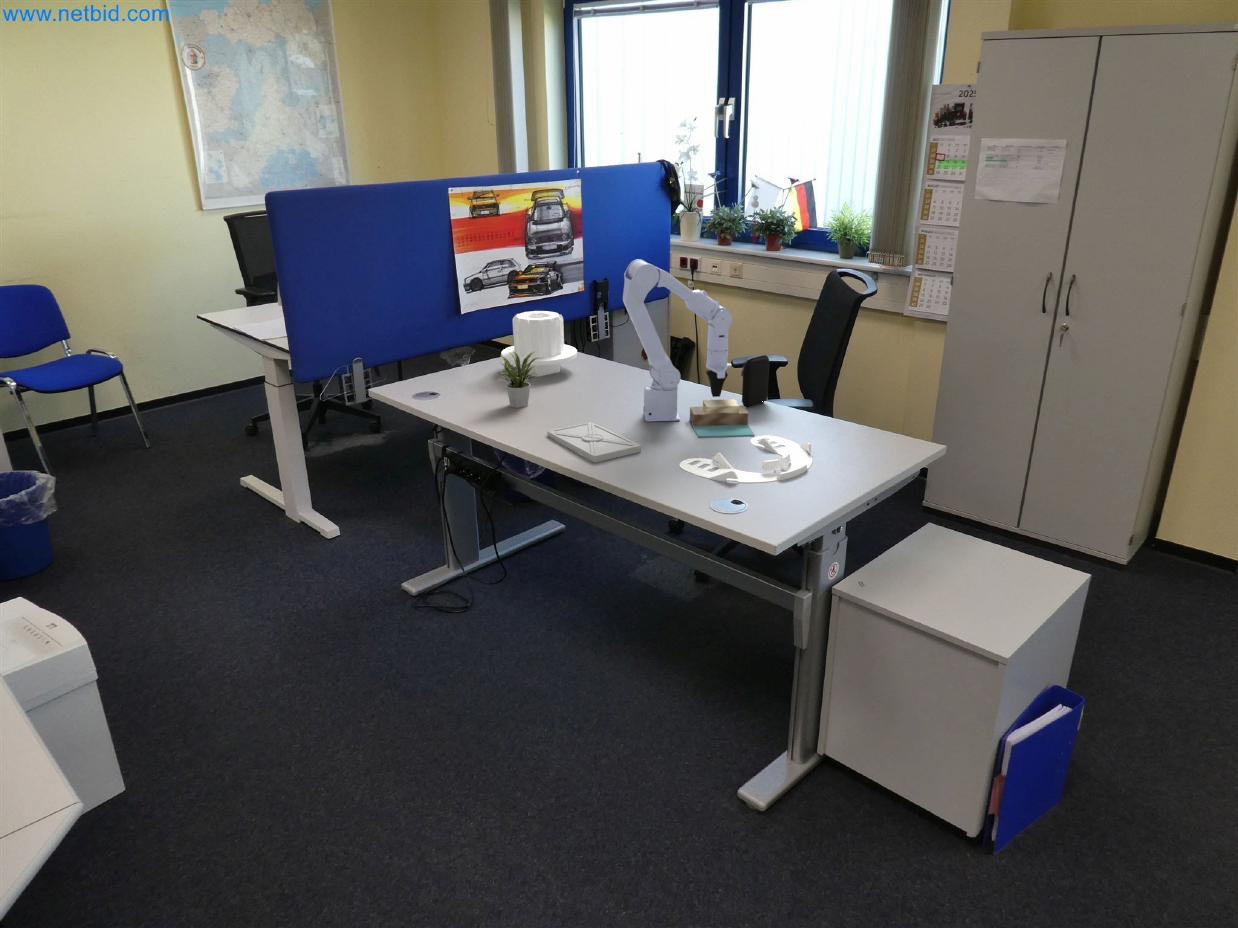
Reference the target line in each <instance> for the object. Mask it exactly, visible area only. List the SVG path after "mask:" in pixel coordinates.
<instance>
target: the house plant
mask: <svg viewBox="0 0 1238 928" xmlns="http://www.w3.org/2000/svg"><path fill="white" fill-rule="evenodd" d="M508 352H509V351H508ZM509 353H510V352H509ZM533 353H535V352H532V353H530V354H529V355H528V356H527V357H526V358H525V359H524V360H523V363H522V368H520V359H519V356H518V355H517V353H516V352H514V354H515V357H516V359H515V357H514V356H513V355H512V354H511V353H510V354H511V355H512V356H513V358H514V360H515V363H516V364H515V367H514V364H512V363H510V362H509V361H508V360H507V359H506V358H504V357H503V356H501V355H499V356H500V357H501V359H502V358H503V359H504V360H503V359H502V360H503V361H504V364H503V363H502V362H500V363H501V365H502V366H503V368H504V370H503V371H502V372H501V371H500V372H499V371H498V373H499V374H501V375H503V376H505V377H507V378H505V377H500V378H499V380H506V381H507V382H508V383H506V384H505V387H506V392H507V396H508V399H509V405H510V407H512V408H515V409H516V408H517V409H518V408H526V407H528V406H529V399H530V390H531V383H530V382H528V381H526V380H529V379H534V380H536V379H535V378H536V377H534V376H532V375H537V374H536V373H531V374H528V373H529V371H530V370H531V369H532V368H533V367H535V366H533V367H531V368H529V366H530V364H531V363H532V362H533V361H534V360H536V359H539V358H534V359H532V360H531V361H530V363H528V364H527V362H528V361H529V360H528V359H529V357H530V356H531V355H532V354H533ZM527 360H528V361H527ZM526 367H527V369H526ZM528 368H529V369H528ZM515 369H516V370H515ZM525 369H526V370H525ZM527 370H528V371H527ZM505 372H506V373H505ZM508 378H509V379H508Z"/></svg>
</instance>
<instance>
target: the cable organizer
mask: <svg viewBox="0 0 1238 928" xmlns="http://www.w3.org/2000/svg"><path fill="white" fill-rule="evenodd" d="M773 442H774V444H773ZM750 443H751V445H753V446H754V447H760V448H763V449H764V450H766V451H768V452H771V453H775V454H776V455H780V456H782V457H780V459H779V458H776V459H769V460H763V461H762V463H761V467H760V470H759V471H761V472H767V471H769V472H770V471H774V472H772V473H771V472H770V473H761V472H753V471H752V472H751V471H744V470H741V469H736V468H734V467H733V466H732V465H731V463H729V461H728V460H727V459H726V457H724V455H722V453H721V452H717V453H716V454H715V455H714V456H713V457H712V458H711V459H709V458H703V457H696V458H693V457H692V458H687V459H684V460H682V461H680V463H679V467H680V469H681V470H682V471H685V472H686V473H689V474H691V475H695V476H698V477H701V478H704V479H708V480H713V481H719V482H737V483H740V484H741V483H742V484H758V483H759V484H762V483H763V484H764V483H771V482H773V483H774V482H778V481H783V480H787V479H791V478H794V477H798V476H799V475H801V474H803V473H805V472H806V471H808V470H809V469H810V467H811V466H812V464H813V456H812V454H809V453H812V444H811V442H807V443H804V444H798V443H797V442H795V441H793V440H790V439H787V438H784V437H782V436H775V435H758V436H753V437H752V438H751V439H750ZM779 446H782V447H779ZM777 447H778V448H777ZM714 461H717V462H714ZM694 462H697V463H696V464H692V463H694ZM705 465H707V466H705ZM789 465H790V466H789ZM702 466H705V467H703V468H701V467H702ZM715 468H717V469H716V470H713V471H710V470H712V469H715Z"/></svg>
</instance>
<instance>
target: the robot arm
mask: <svg viewBox="0 0 1238 928" xmlns="http://www.w3.org/2000/svg"><path fill="white" fill-rule="evenodd" d="M623 279H624V285H623V293H622V302H623V304H624V306H625V308H626V311H627V314H628V315H629V318H630V320H631V322H632V325H633V326H634V329H635V331H636V334H637V336H638V338H639V341H640V342H641V344H642V347H643V349H644V352H645V354H646V357H647V363H648V366H649V370H648V371H649V376H650V377H651V379H652V382H651V386H645V387H644V388H643V408H642V409H643V410H642V411H643V415H644V419H645V422H673V421H674V422H677V421H680V420H681V419H680V415H679V412H678V388H679V387H678V385H679V384H680V382H681V373H680V370H679V369H677V368H676V367H675V366H674V365H673V363H672V360H671V359H670V358H669V356H668V354H667V353H666V351H665V349H664V346H663V345H662V342H661V340H660V337H659V335H658V333H657V330H656V328H655V325H654V323H653V321H652V319H651V316H650V313H649V312H648V309H647V307H646V305H645V302H644V301H645V299H646V297H647V296H648V293H649V292H651V290H652V289H654V288H655V287H656V288H662V287H664V288H666V289H667V290H669V291H670V292H672V293H674V294H675V295H677V296H678V297H680V298H681V299H682V300H684V302H685V307H686V308H687V309H688V310H690V311H691V312H693V313H694V314H695V315H697V316H698V317H700V318H701V319H703V320H704V321H705V322H706V323H708V324H707V343H706V344H707V345H706V348H707V349H706V364H705V368H706V370H705V373H706V375H707V378H708V382H709V386H710V392H711V395H712V397H713V398H717V397H718V398H720V397H721V394H722V391H723V390H722V389H723V387H724V384H725V381H726V379H727V378H728V376H729V375H728V373H727V369H728V368H732V363H729V362H728V359H729V358H728V354H729V328H730V326H731V325H732V323H733V320H734V319H733V317H732V314H731V311H730V310H729V309H728V308H726V307H724V306H721V301H719V300H714V299H713V298H711V297H710V296H708V292H706V290H704V289H702V290H700V289H693V290H692V289H690V288H689V287H688V286H686V285H685V284H684V283H683V282H681V281H679V280H678V278H676V277H674V275H672V274H670V273H669V272H668V271H665V270H664V269H661V268H659V267H658V266H655V265H654V264H651V263H648V262H647V261H645V260H644V259H639V258H637V259H634V260H632V261H631V262H630V263H629V264H628V266H627V267H626V270H625V271H624V274H623ZM707 369H708V370H707Z"/></svg>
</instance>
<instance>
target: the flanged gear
mask: <svg viewBox="0 0 1238 928" xmlns="http://www.w3.org/2000/svg"><path fill="white" fill-rule="evenodd" d="M512 334H513V335H512V336H513V345H511V346H508V347H505V349H504V348H503V350H502V351H501V356H503V357H504V358H506V359H507V360H508V361H509V363H510V364H513V365H514V364H515V365H516V363H515V360H514V358H513V356H514V357H515V354H514V352H516V353H517V355H518V356H519V359H520V368H522V363H523V360H524V359H525V358H526V357H527V356H528V355H529V354H530V353H532V352H535V353H533V354H532V355H531V356H530V357H529V359H528V360H529V361H528V360H527V361H528V362H527V364H528V363H530V361H531V360H532V359H534V358H539V359H536V360H534V361H533V362H532V363H531V364H530V366H529V368H531V367H533V366H535V367H533V368H532V369H531V370H530V371H529V373H528V374H527V375H529V374H531V373H536V374H537V375H531V377H534V378H539V377H542V376H543V377H544V376H548V375H552V374H557V373H560V372H561V363H565V362H569V361H572V360H574V359H575V358H577V356H578V349H576V347H574V346H571V345H568V344H565V338H564V337H565V336H564V335H565V334H564V317H563V315H562V314H559V313H558V312H554V311H548V310H547V311H546V310H533V311H524V312H521V313H516V314H515V315H514V316H513V318H512ZM508 351H509V352H510V353H511V354H512V355H513V356H512V355H511V354H510V353H509V352H508ZM501 356H500V357H501ZM501 359H502V360H503V361H504V359H503V358H502V357H501ZM515 359H516V357H515ZM529 368H528V369H529ZM526 369H527V367H526ZM526 369H525V370H526ZM527 371H528V370H527Z"/></svg>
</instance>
